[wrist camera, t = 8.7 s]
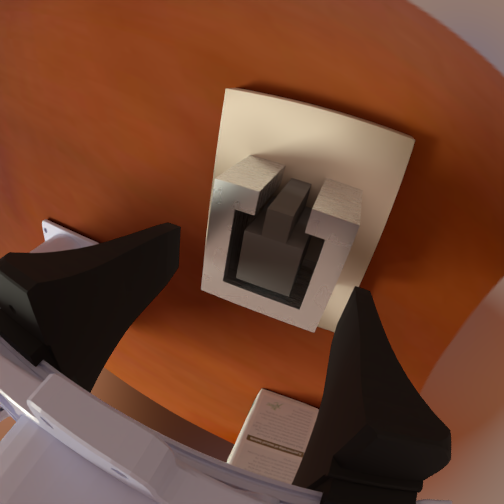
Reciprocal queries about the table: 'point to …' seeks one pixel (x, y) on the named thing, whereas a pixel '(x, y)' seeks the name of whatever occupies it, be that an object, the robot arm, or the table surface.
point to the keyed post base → (309, 184)
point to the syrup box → (274, 436)
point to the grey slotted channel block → (320, 225)
